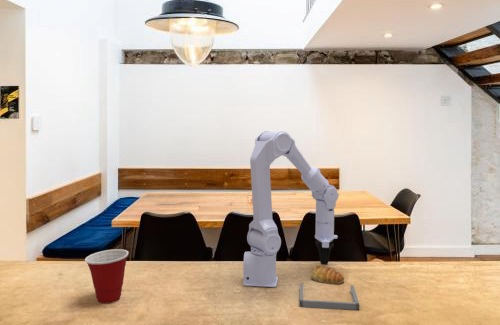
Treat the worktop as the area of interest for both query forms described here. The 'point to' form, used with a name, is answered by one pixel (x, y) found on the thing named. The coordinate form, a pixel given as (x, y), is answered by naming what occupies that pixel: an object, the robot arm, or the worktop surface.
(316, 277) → the pastry
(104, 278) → the plastic cup
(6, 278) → the worktop surface
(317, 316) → the worktop surface
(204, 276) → the worktop surface
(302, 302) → the grey u-shaped bracket
